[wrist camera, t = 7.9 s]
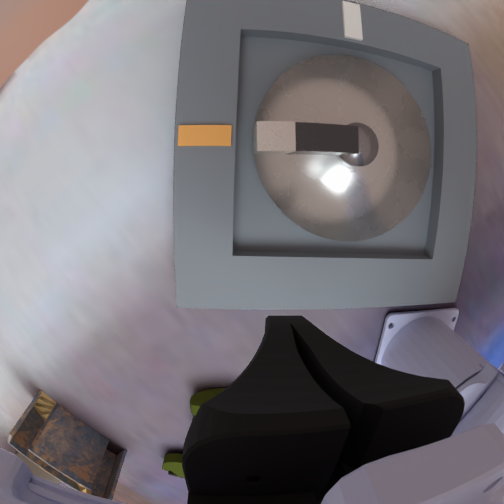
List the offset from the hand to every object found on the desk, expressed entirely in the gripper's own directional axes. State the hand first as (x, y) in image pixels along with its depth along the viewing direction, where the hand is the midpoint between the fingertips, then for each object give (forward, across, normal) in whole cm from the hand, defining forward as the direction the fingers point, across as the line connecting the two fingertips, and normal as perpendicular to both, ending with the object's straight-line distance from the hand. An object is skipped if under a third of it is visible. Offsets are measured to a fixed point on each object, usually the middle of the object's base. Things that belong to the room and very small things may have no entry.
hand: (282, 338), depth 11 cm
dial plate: (+10, -5, -8) cm, 14 cm away
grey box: (+11, +19, +19) cm, 29 cm away
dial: (+9, -5, -8) cm, 13 cm away
